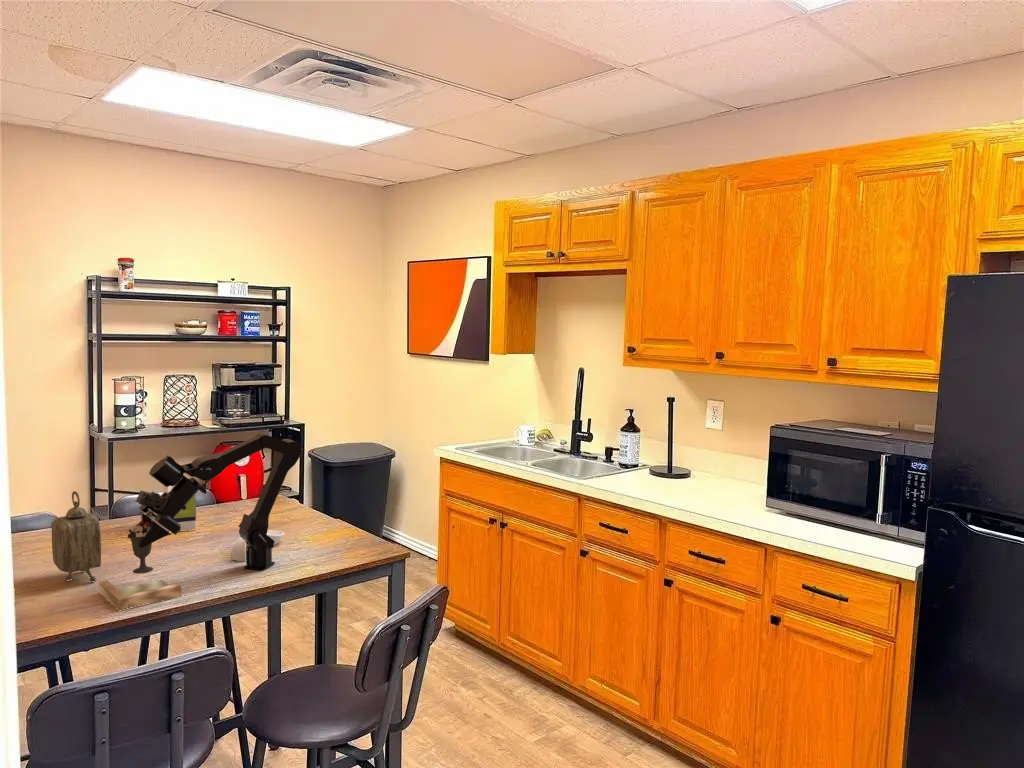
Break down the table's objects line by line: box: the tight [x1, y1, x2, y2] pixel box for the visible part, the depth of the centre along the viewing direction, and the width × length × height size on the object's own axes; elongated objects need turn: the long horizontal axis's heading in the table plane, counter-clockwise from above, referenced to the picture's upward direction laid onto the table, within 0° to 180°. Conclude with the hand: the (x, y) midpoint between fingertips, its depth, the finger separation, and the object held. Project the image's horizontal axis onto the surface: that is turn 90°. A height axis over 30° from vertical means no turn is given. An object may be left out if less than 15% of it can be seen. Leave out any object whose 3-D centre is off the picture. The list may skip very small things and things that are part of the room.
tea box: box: [163, 485, 197, 531], centre depth 255 cm, size 15×10×15 cm
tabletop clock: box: [51, 490, 102, 583], centre depth 202 cm, size 14×9×25 cm, turn 43°
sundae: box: [127, 514, 154, 575], centre depth 194 cm, size 7×7×15 cm
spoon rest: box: [230, 529, 285, 562], centre depth 232 cm, size 24×12×7 cm, turn 173°
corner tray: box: [98, 579, 182, 611], centre depth 192 cm, size 15×17×3 cm
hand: (136, 543), depth 193 cm, fingers closed on sundae, 6 cm apart
